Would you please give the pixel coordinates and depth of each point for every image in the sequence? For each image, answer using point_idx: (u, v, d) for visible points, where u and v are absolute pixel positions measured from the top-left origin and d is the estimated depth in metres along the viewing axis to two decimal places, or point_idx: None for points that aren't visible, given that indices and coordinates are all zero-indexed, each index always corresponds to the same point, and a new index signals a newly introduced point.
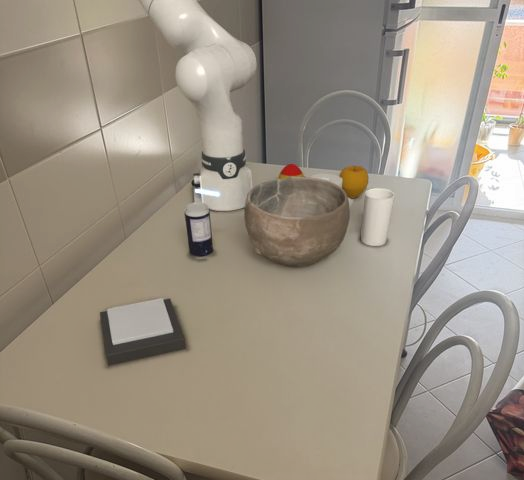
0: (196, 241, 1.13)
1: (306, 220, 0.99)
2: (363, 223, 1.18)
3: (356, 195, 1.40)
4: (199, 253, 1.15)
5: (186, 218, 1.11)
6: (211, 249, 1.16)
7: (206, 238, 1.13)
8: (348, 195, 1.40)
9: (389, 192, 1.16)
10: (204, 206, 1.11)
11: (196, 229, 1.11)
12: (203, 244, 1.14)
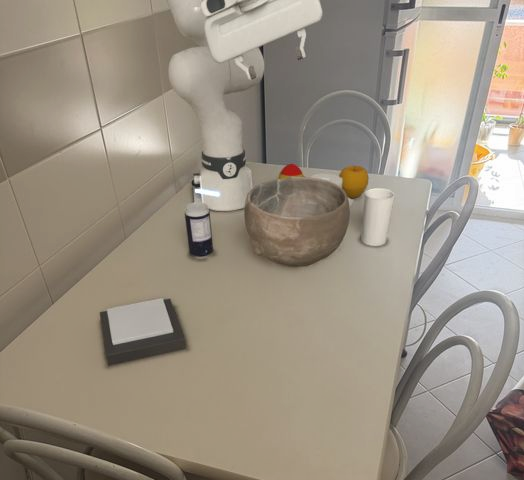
0: (196, 241, 1.13)
1: (306, 220, 0.99)
2: (363, 223, 1.18)
3: (356, 195, 1.40)
4: (199, 253, 1.15)
5: (186, 218, 1.11)
6: (211, 249, 1.16)
7: (206, 238, 1.13)
8: (348, 195, 1.40)
9: (389, 192, 1.16)
10: (204, 206, 1.11)
11: (196, 229, 1.11)
12: (203, 244, 1.14)
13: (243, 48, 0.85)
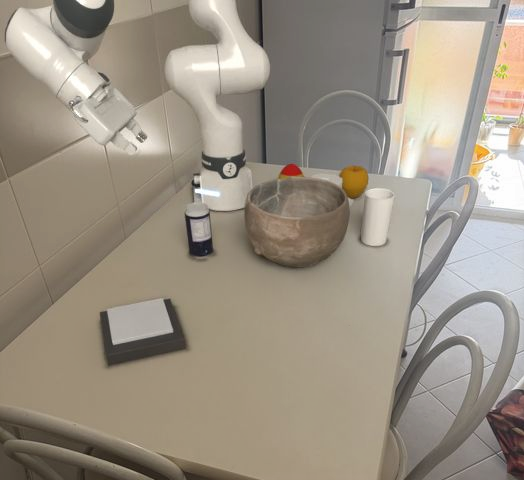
0: (196, 241, 1.13)
1: (306, 220, 0.99)
2: (363, 223, 1.18)
3: (356, 195, 1.40)
4: (199, 253, 1.15)
5: (186, 218, 1.11)
6: (211, 249, 1.16)
7: (206, 238, 1.13)
8: (348, 195, 1.40)
9: (389, 192, 1.16)
10: (204, 206, 1.11)
11: (196, 229, 1.11)
12: (203, 244, 1.14)
13: None
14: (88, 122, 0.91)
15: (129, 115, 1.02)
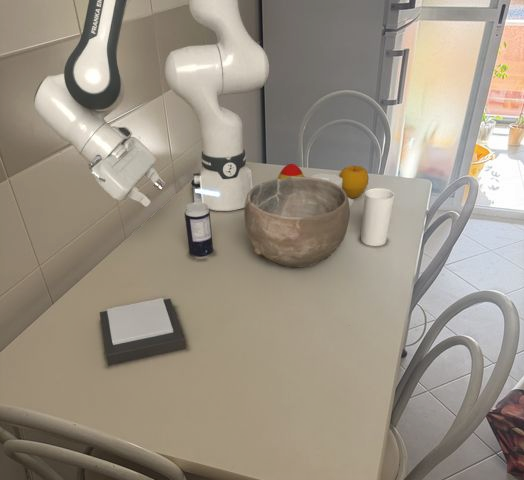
0: (196, 241, 1.13)
1: (306, 220, 0.99)
2: (363, 223, 1.18)
3: (356, 195, 1.40)
4: (199, 253, 1.15)
5: (186, 218, 1.11)
6: (211, 249, 1.16)
7: (206, 238, 1.13)
8: (348, 195, 1.40)
9: (389, 192, 1.16)
10: (204, 206, 1.11)
11: (196, 229, 1.11)
12: (203, 244, 1.14)
13: None
14: (105, 181, 0.99)
15: (147, 166, 1.10)
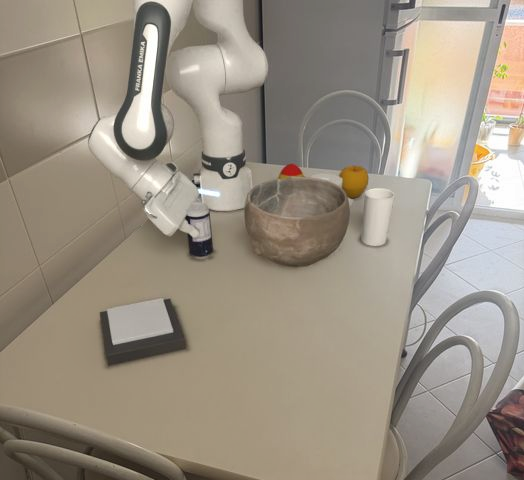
0: (196, 241, 1.13)
1: (306, 220, 0.99)
2: (363, 223, 1.18)
3: (356, 195, 1.40)
4: (199, 253, 1.15)
5: (186, 218, 1.11)
6: (211, 249, 1.16)
7: (206, 238, 1.13)
8: (348, 195, 1.40)
9: (389, 192, 1.16)
10: (204, 206, 1.11)
11: None
12: (203, 244, 1.14)
13: None
14: (157, 218, 1.03)
15: (193, 199, 1.14)
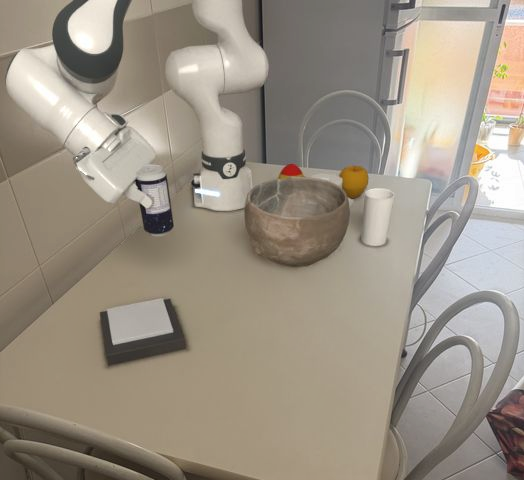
0: (150, 213, 0.89)
1: (306, 220, 0.99)
2: (363, 223, 1.18)
3: (356, 195, 1.40)
4: (155, 229, 0.91)
5: (136, 183, 0.87)
6: (171, 224, 0.93)
7: (163, 210, 0.90)
8: (348, 195, 1.40)
9: (389, 192, 1.16)
10: (159, 168, 0.88)
11: None
12: (160, 217, 0.90)
13: None
14: (94, 180, 0.80)
15: (146, 161, 0.90)
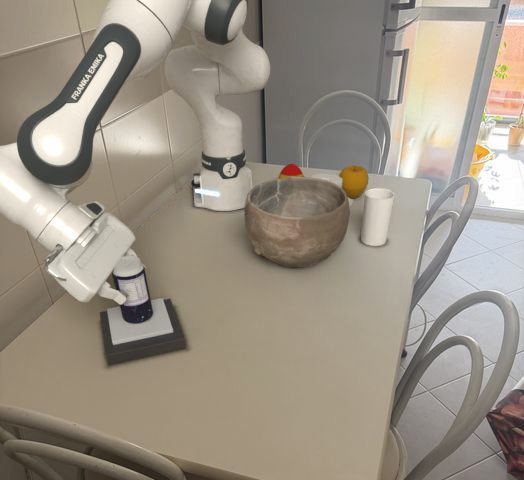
0: (128, 305, 0.88)
1: (306, 220, 0.99)
2: (363, 223, 1.18)
3: (356, 195, 1.40)
4: (133, 319, 0.90)
5: (113, 277, 0.85)
6: (150, 313, 0.91)
7: (141, 302, 0.88)
8: (348, 195, 1.40)
9: (389, 192, 1.16)
10: (137, 262, 0.86)
11: (127, 291, 0.86)
12: (138, 309, 0.88)
13: None
14: (66, 281, 0.77)
15: (124, 249, 0.88)
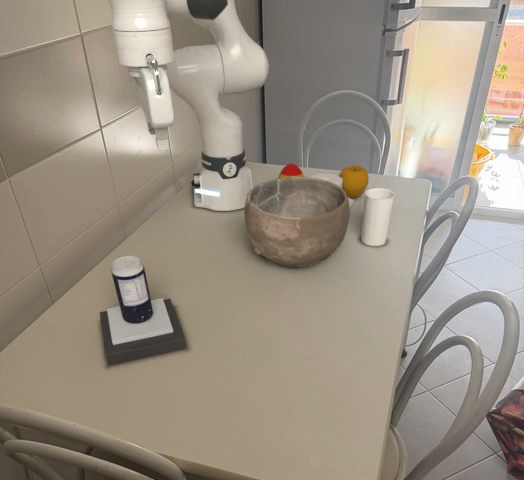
0: (128, 305, 0.88)
1: (306, 220, 0.99)
2: (363, 223, 1.18)
3: (356, 195, 1.40)
4: (133, 319, 0.90)
5: (113, 277, 0.85)
6: (150, 313, 0.91)
7: (141, 302, 0.88)
8: (348, 195, 1.40)
9: (389, 192, 1.16)
10: (137, 262, 0.86)
11: (126, 291, 0.86)
12: (138, 309, 0.88)
13: (139, 102, 0.85)
14: (159, 96, 0.73)
15: None
